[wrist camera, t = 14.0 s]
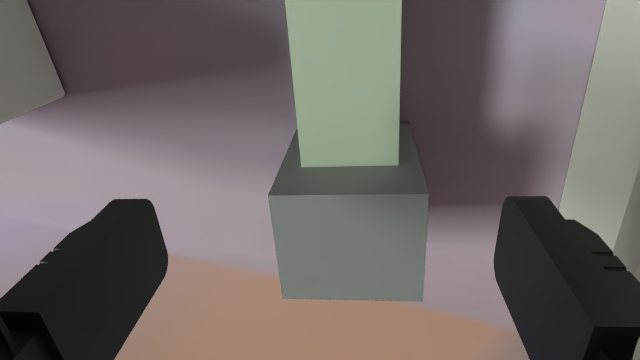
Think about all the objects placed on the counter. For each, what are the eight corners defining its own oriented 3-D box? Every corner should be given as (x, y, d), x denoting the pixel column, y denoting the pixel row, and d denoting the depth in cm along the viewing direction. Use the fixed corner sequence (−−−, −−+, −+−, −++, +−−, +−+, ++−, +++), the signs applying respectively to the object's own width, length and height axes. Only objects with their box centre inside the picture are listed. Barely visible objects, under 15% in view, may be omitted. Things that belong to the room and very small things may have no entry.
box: (278, -72, 18) (226, -96, 11) (416, -85, 17) (447, -117, 10) (305, 208, 24) (282, 298, 17) (406, 207, 23) (422, 301, 17)
